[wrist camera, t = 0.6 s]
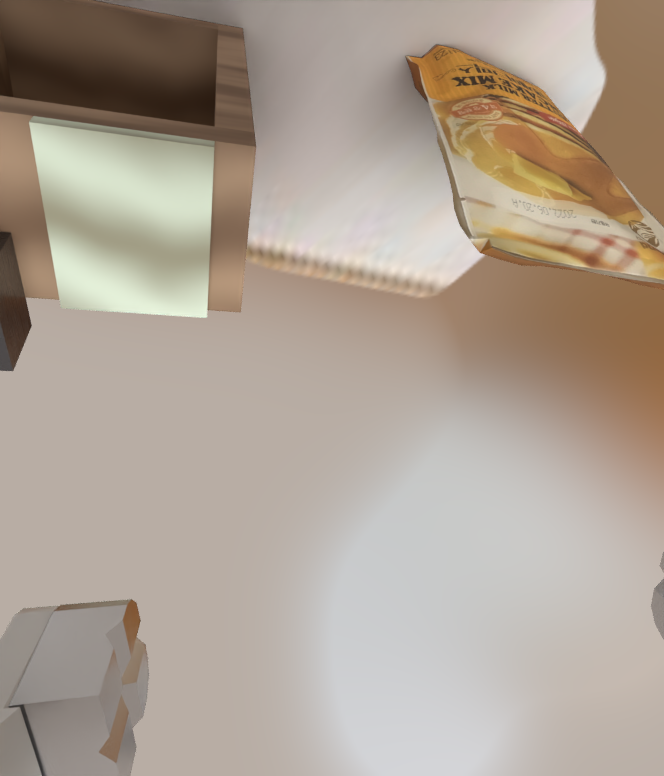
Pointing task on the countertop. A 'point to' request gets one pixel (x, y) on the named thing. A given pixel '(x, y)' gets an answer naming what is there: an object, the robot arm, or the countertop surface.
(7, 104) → the brown wooden box
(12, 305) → the grey metal bar
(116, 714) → the robot arm
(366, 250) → the countertop surface
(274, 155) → the countertop surface
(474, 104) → the pancake mix bag
